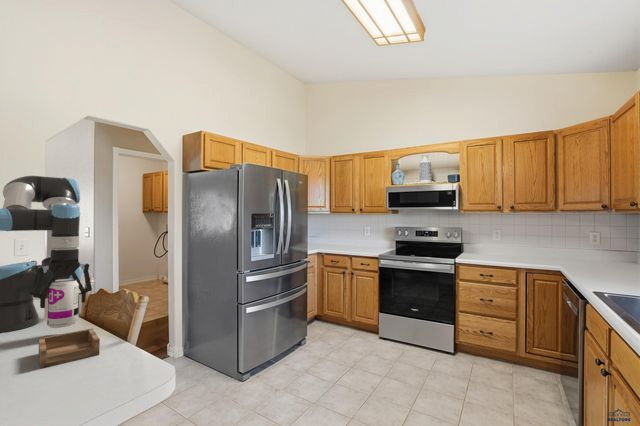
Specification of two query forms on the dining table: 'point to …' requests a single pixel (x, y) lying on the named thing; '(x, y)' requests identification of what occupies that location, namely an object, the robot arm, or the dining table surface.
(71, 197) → the robot arm
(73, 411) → the dining table surface
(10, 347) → the dining table surface
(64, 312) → the supplement can
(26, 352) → the dining table surface
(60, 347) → the walnut caddy
